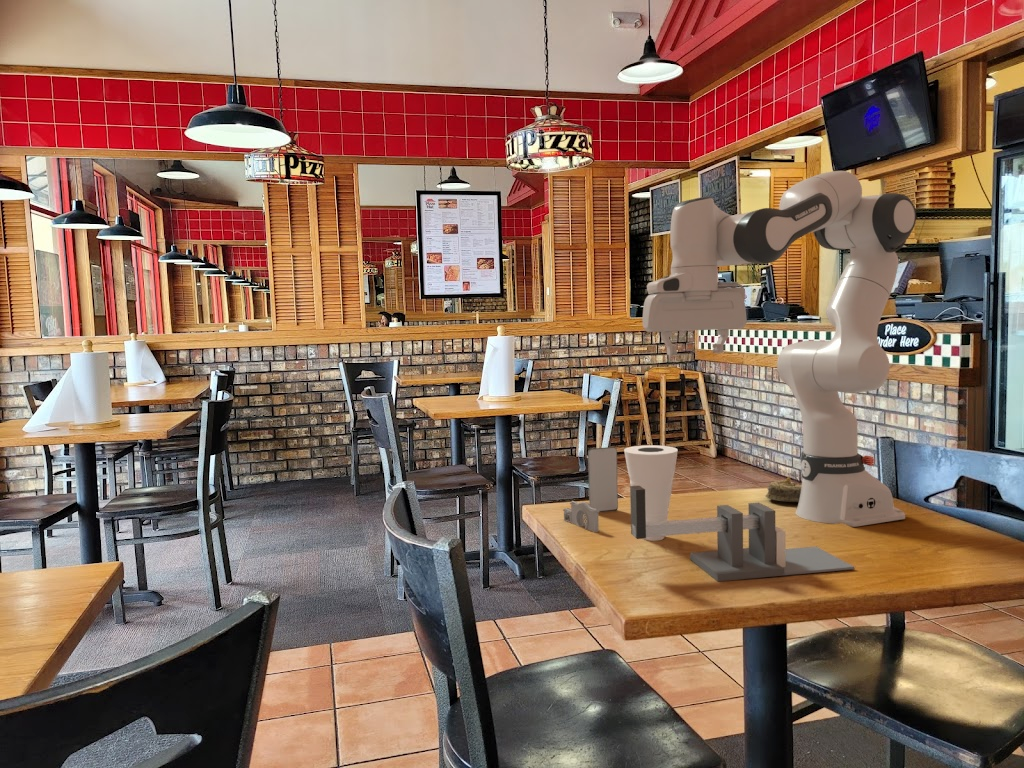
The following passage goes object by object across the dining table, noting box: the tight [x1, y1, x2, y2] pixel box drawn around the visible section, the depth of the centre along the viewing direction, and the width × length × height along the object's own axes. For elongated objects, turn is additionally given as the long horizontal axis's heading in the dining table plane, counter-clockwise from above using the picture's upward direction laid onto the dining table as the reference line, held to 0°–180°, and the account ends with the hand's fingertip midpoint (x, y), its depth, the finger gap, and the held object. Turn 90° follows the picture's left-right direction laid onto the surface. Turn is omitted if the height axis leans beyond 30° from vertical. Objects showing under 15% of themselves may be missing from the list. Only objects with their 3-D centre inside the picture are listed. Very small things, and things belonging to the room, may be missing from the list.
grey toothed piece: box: [562, 500, 601, 533], centre depth 161 cm, size 12×2×6 cm, turn 29°
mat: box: [783, 546, 855, 576], centre depth 135 cm, size 13×12×1 cm
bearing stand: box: [689, 502, 785, 582], centre depth 132 cm, size 12×12×10 cm
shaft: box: [629, 485, 760, 540], centre depth 131 cm, size 23×3×8 cm, turn 99°
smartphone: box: [587, 446, 619, 513], centre depth 173 cm, size 7×1×15 cm, turn 106°
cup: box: [623, 444, 678, 542], centre depth 152 cm, size 11×11×18 cm
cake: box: [764, 476, 802, 503], centre depth 180 cm, size 10×10×5 cm
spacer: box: [775, 525, 786, 567], centre depth 134 cm, size 2×6×6 cm, turn 9°
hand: (695, 354), depth 146 cm, fingers open, 8 cm apart
